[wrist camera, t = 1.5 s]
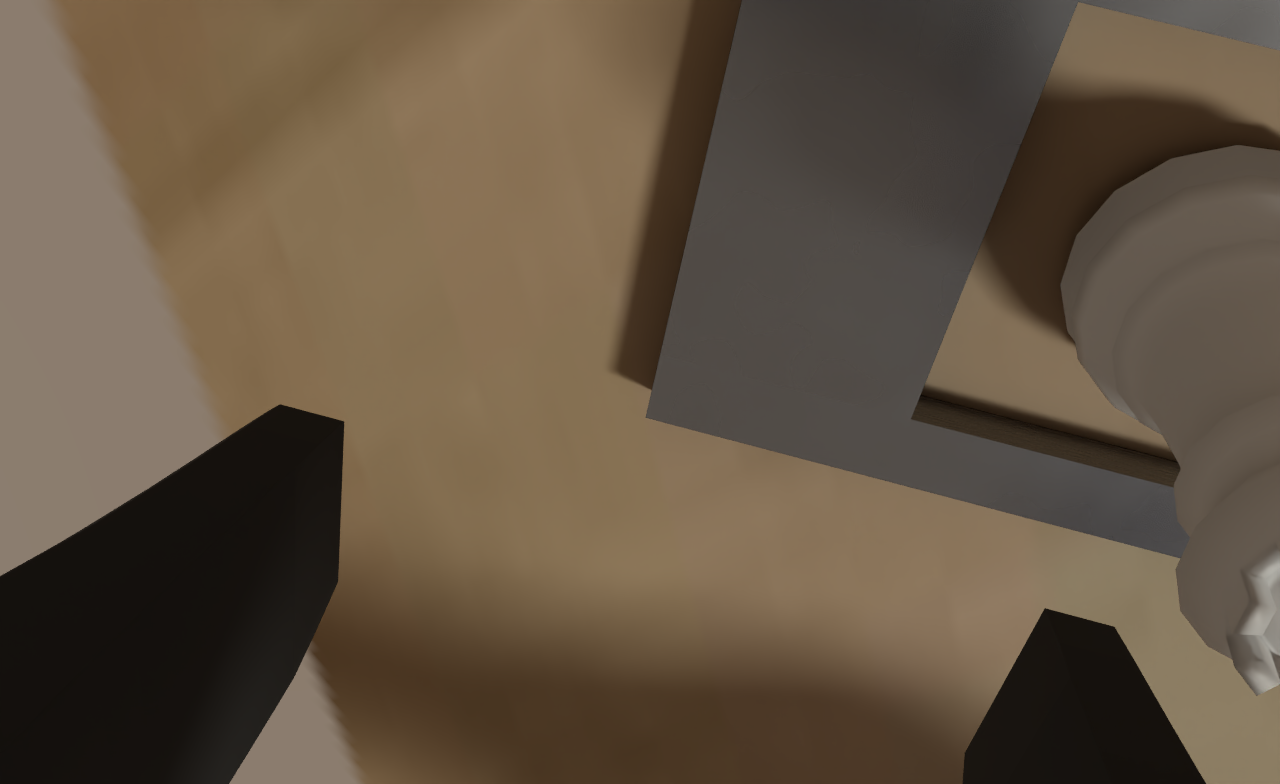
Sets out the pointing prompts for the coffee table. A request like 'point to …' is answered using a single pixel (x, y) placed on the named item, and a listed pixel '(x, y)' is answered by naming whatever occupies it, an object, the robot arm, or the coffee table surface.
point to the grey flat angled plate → (887, 250)
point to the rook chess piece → (1199, 372)
